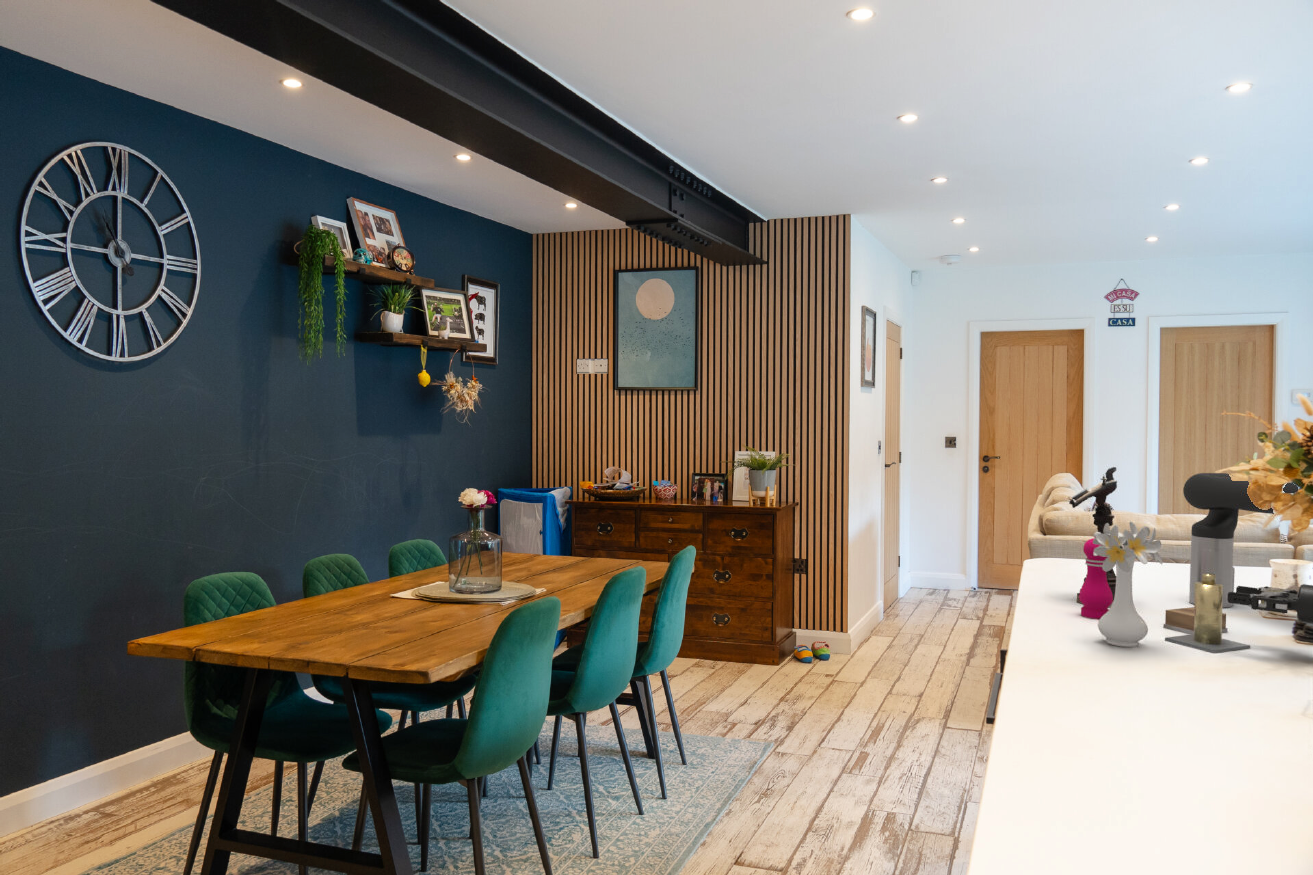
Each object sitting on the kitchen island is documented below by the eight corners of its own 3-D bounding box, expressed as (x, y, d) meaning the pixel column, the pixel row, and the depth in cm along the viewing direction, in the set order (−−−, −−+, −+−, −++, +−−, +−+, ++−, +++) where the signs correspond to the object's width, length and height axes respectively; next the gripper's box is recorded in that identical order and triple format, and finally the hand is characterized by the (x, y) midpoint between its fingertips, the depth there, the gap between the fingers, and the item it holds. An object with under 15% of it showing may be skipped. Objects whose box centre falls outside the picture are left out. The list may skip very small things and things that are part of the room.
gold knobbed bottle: (1204, 637, 199) (1205, 571, 199) (1227, 642, 194) (1228, 575, 194) (1188, 639, 197) (1189, 573, 197) (1210, 645, 192) (1211, 577, 192)
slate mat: (1200, 635, 203) (1200, 633, 203) (1250, 648, 193) (1250, 645, 193) (1164, 640, 199) (1164, 637, 199) (1214, 653, 188) (1214, 650, 188)
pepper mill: (1105, 613, 225) (1108, 530, 224) (1117, 620, 217) (1119, 534, 217) (1074, 612, 225) (1076, 529, 225) (1084, 619, 218) (1087, 533, 217)
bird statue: (1054, 604, 234) (1058, 464, 233) (1055, 595, 246) (1058, 462, 245) (1128, 610, 228) (1132, 467, 227) (1125, 601, 240) (1129, 464, 239)
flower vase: (1086, 649, 189) (1089, 526, 189) (1092, 631, 206) (1096, 517, 205) (1159, 659, 183) (1163, 531, 182) (1160, 639, 199) (1164, 522, 199)
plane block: (1193, 624, 215) (1194, 606, 214) (1227, 631, 207) (1228, 613, 207) (1163, 627, 211) (1163, 609, 210) (1196, 635, 203) (1197, 617, 203)
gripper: (1333, 582, 188) (1239, 571, 198) (1324, 592, 177) (1225, 580, 188) (1331, 619, 188) (1238, 606, 199) (1322, 632, 177) (1224, 617, 188)
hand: (1232, 593), depth 193 cm, fingers open, 8 cm apart
